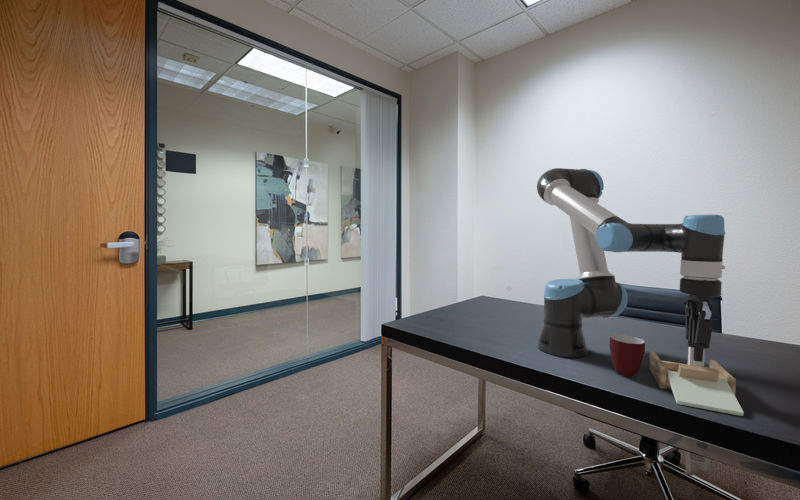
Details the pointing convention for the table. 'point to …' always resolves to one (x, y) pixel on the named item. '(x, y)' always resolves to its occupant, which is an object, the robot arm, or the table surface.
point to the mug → (626, 354)
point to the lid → (703, 389)
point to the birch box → (661, 367)
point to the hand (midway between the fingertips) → (695, 372)
